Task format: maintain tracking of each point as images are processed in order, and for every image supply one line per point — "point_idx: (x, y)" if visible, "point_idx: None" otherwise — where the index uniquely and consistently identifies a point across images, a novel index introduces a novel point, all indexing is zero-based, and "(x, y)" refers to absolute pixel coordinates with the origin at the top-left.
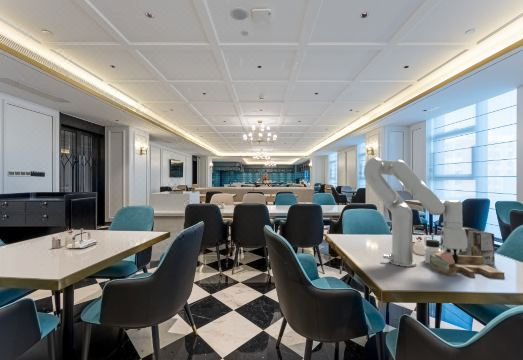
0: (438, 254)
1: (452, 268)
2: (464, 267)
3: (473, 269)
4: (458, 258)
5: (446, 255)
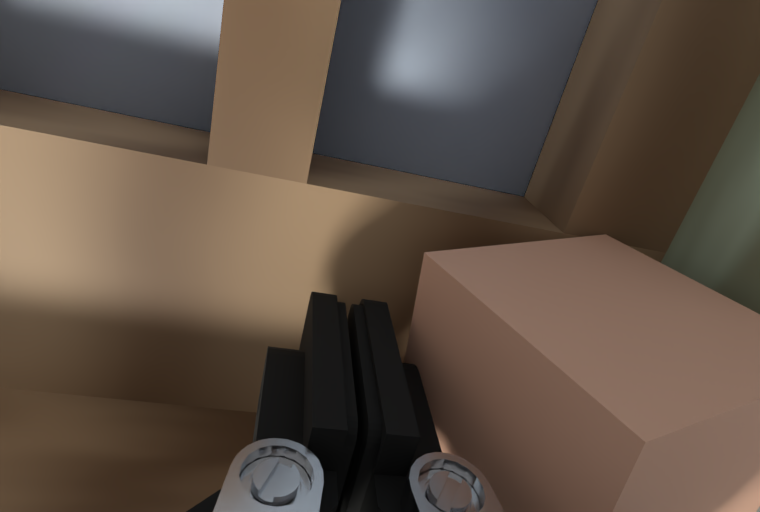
0: (755, 498)
1: (459, 200)
2: (256, 134)
3: (37, 116)
4: (121, 479)
5: (743, 378)
